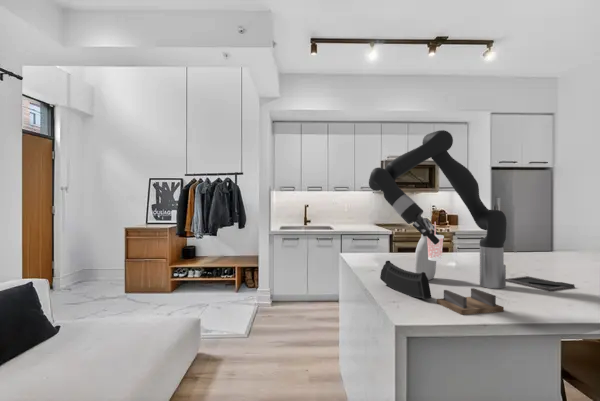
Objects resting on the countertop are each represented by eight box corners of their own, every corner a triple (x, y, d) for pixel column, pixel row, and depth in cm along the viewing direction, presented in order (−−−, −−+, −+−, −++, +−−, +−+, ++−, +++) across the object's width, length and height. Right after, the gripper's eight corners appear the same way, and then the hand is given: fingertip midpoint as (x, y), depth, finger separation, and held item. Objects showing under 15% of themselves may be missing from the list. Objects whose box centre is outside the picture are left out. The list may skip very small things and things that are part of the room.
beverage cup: (438, 258, 138) (438, 221, 138) (447, 261, 132) (447, 222, 132) (423, 258, 137) (423, 221, 137) (431, 261, 131) (431, 222, 131)
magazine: (436, 278, 134) (391, 245, 161) (428, 279, 133) (385, 245, 160) (427, 319, 138) (385, 280, 165) (419, 320, 137) (378, 281, 164)
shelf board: (475, 300, 137) (475, 287, 137) (503, 311, 124) (503, 296, 124) (436, 302, 134) (436, 289, 134) (461, 314, 120) (461, 299, 120)
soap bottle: (425, 283, 165) (425, 223, 165) (410, 280, 172) (410, 222, 172) (443, 279, 174) (443, 222, 174) (428, 276, 180) (428, 221, 180)
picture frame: (574, 289, 157) (527, 279, 176) (574, 284, 157) (527, 275, 176) (549, 293, 151) (503, 282, 170) (549, 288, 151) (503, 278, 170)
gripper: (408, 202, 133) (443, 236, 126) (419, 201, 145) (451, 233, 139) (394, 216, 136) (427, 251, 129) (406, 215, 148) (436, 246, 141)
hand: (439, 241), depth 134 cm, fingers closed on beverage cup, 6 cm apart
